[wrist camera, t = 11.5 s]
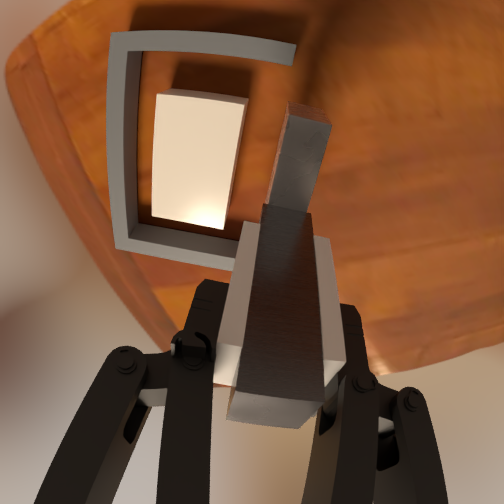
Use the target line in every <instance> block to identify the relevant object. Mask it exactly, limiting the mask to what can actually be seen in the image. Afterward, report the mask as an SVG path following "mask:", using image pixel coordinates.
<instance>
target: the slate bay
mask: <svg viewBox="0 0 504 504" xmlns="http://www.w3.org/2000/svg"><path fill="white" fill-rule="evenodd" d="M295 49H296V45H295V44H290V43H285V42H280V41H275V40H269V39H263V38H257V37H250V36H243V35H235V34H225V33H215V32H201V31H178V30H149V31H126V32H113V33H111V38H110V48H109V60H108V75H107V100H106V141H107V166H108V182H109V195H110V206H111V216H112V225H113V233H114V240H115V248H116V249H121V250H126V251H131V252H136V253H141V254H145V255H150V256H155V257H160V258H165V259H170V260H176V261H181V262H186V263H191V264H196V265H201V266H207V267H212V268H217V269H222V270H228V271H233V267H234V262H235V258H236V254H237V249H238V245H239V241H234V240H229V239H223V238H218V237H213V236H207V235H202V234H196V233H191V232H185V231H180V230H174V229H169V228H163V227H158V226H152V225H146V224H141V223H138V206H137V168H136V149H137V112H138V94H139V80H140V68H141V58H142V51H180V52H197V53H209V54H219V55H228V56H236V57H243V58H250V59H256V60H262V61H268V62H274V63H279V64H284V65H289V66H292V63H293V59H294V54H295Z"/></svg>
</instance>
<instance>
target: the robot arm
mask: <svg viewBox="0 0 504 504" xmlns="http://www.w3.org/2000/svg"><path fill="white" fill-rule="evenodd" d="M259 231H260V224H258V223H253V222H248V221H244V223H243V227H242V232H241V236H240V240H239V245H238V249H237V254H236V258H235V262H234V267H233V271H232V276H231V280H230V284H228V283H223V282H218V281H213V280H208V279H205V280H204V281H203V282H202V283H201V284H200V285H199V286H198V287H197V289H196V292H195V295H194V298H193V301H192V304H191V308H190V310H189V313H188V316H187V320H186V323H185V326H184V329H183V330H181V331H179V332H178V333H177V334H176V335H175V336H173V339H172V341H171V350H170V351H167V352H164V353H158V354H143V353H142V352H141V351H140V350H138V349H137V348H135V347H131V346H122V347H118V348H116V349H114V350H113V351H112V352H111V353H110V354H109V355H108V356H107V358H106V360H105V362H104V363H103V365H102V367H101V369H100V370H99V372H98V374H97V376H96V377H95V379H94V381H93V383H92V385H91V387H90V388H89V390H88V392H87V394H86V396H85V397H84V400H83V401H82V403H81V405H80V407H79V409H78V411H77V412H76V414H75V416H74V419H73V420H72V422H71V424H70V426H69V428H68V430H67V432H66V434H65V436H64V438H63V440H62V442H61V444H60V446H59V448H58V450H57V452H56V455H55V457H54V459H53V461H52V463H51V465H50V467H49V469H48V472H47V474H46V476H45V478H44V481H43V483H42V485H41V487H40V490H39V492H38V494H37V497H36V499H35V502H34V504H112V502H113V499H114V497H115V494H116V492H117V489H118V487H119V484H120V482H121V479H122V477H123V474H124V472H125V470H126V467H127V465H128V462H129V460H130V457H131V455H132V452H133V450H134V448H135V445H136V443H137V441H138V439H139V436H140V434H141V431H142V429H143V427H144V425H145V422H146V420H147V418H148V415H149V413H150V411H151V408H152V406H165V412H164V420H163V428H162V438H161V448H160V458H159V470H158V482H157V483H158V484H157V497H156V504H209V494H210V493H209V492H210V490H209V489H210V450H211V449H210V448H211V421H212V398H213V383H218V384H224V385H229V386H231V385H232V381H233V378H234V374H235V371H236V367H237V363H238V360H239V356H240V352H241V349H242V347H243V340H244V334H245V327H246V320H247V313H248V307H249V300H250V293H251V286H252V279H253V273H254V266H255V259H256V252H257V245H258V238H259ZM313 238H314V247H315V257H316V267H317V278H318V290H319V303H320V317H321V333H322V351H323V361H324V386H325V403H324V404H323V405H322V406H321V407H320V408H319V409H318V410H317V411H316V412H315V413H314V414H313V415H312V416H311V417H314V416H315V415H316V414H317V418H316V425H315V432H314V438H313V445H312V450H311V457H310V462H309V468H308V473H307V479H306V484H305V488H304V494H303V498H302V503H301V504H373V503H374V504H448V497H447V491H446V485H445V480H444V474H443V470H442V464H441V460H440V455H439V451H438V446H437V442H436V438H435V434H434V430H433V426H432V423H431V418H430V415H429V411H428V407H427V404H426V401H425V398H424V396H423V394H422V393H421V392H420V391H419V390H418V389H416V388H414V387H405V388H403V389H401V390H400V391H399V392H398V391H396V390H393V389H390V388H388V387H385V386H383V385H381V384H379V383H378V380H377V379H376V377H375V375H374V374H373V373H371V372H370V370H369V366H368V359H367V353H366V346H365V340H364V337H363V335H364V334H363V329H362V322H361V317H360V314H359V313H358V311H357V309H356V308H355V306H353V305H347V304H341V303H339V296H338V289H337V282H336V275H335V269H334V263H333V257H332V251H331V245H330V239H329V238H324V237H320V236H315V235H314V236H313Z"/></svg>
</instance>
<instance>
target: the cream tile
mask: <svg viewBox="0 0 504 504" xmlns="http://www.w3.org/2000/svg"><path fill="white" fill-rule="evenodd" d="M248 100H249V98H243V97H237V96H231V95H224V94H217V93H210V92H202V91H193V90H184V89H173V88H170V89H168V90H165V91H163V92H161V93H158V94H157V100H156V112H155V125H154V142H153V166H152V216H154V217H160V218H165V219H170V220H176V221H181V222H186V223H192V224H197V225H202V226H207V227H212V228H218V229H224V225H225V222H226V218H227V215H228V212H229V206H230V200H231V194H232V188H233V182H234V176H235V170H236V165H237V159H238V153H239V148H240V142H241V137H242V131H243V126H244V121H245V115H246V110H247V105H248Z"/></svg>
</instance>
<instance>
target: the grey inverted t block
mask: <svg viewBox="0 0 504 504" xmlns="http://www.w3.org/2000/svg"><path fill="white" fill-rule="evenodd" d="M331 128H332V124H331V122H330V121H329V119H328V118H327V116H326V115H325V113H324V111H323V110H322V109H319V108H315V107H311V106H307V105H303V104H299V103H295V102H290V101H288V103H287V108H286V112H285V116H284V121H283V125H282V130H281V134H280V139H279V143H278V148H277V152H276V157H275V161H274V165H273V170H272V174H271V179H270V183H269V188H268V192H267V197H266V201H265V204H264V203H263V207H262V211H261V216H260V220H259V224H260V231H259V238H258V245H257V252H256V259H255V266H254V273H253V279H252V286H251V293H250V300H249V307H248V313H247V320H246V327H245V334H244V340H243V347H242V349H241V352H240V356H239V360H238V363H237V367H236V371H235V374H234V378H233V381H232V385H231V392H230V398H229V404H228V410H227V416H226V420H231V421H236V422H243V423H249V424H256V425H264V426H272V427H282V428H294V429H299V428H300V427H301V426H302V425H303V424H304V423H305V422H306V421H307V420H308V419H309V418H310V417H311V416H312V415H313V414H314V413H315V412H316V411H317V410H318V409H319V408H320V407H321V406H322V405H323V404H324V403H325V386H324V361H323V351H322V333H321V317H320V303H319V290H318V278H317V267H316V257H315V247H314V238H313V236H314V235H313V226H312V218H311V213H306V212H307V209H308V206H309V202H310V199H311V196H312V193H313V189H314V186H315V183H316V179H317V176H318V173H319V169H320V166H321V162H322V159H323V156H324V152H325V149H326V145H327V142H328V138H329V135H330V131H331Z"/></svg>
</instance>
